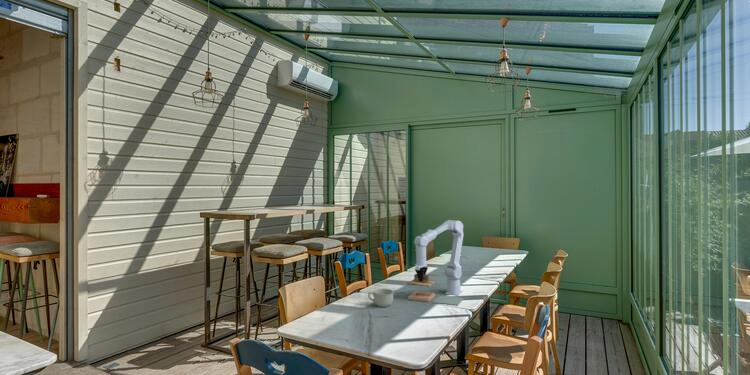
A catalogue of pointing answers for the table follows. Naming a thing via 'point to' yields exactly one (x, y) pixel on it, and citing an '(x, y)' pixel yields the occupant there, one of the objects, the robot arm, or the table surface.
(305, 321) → the table surface
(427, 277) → the oak lid
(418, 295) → the terracotta dish
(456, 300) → the rubber mat
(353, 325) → the table surface
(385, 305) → the teacup
